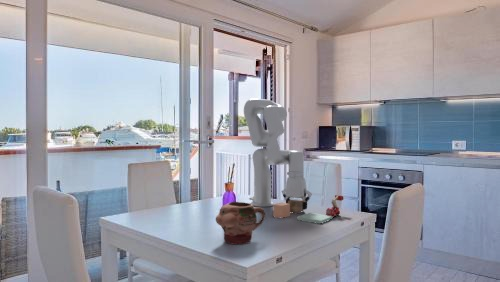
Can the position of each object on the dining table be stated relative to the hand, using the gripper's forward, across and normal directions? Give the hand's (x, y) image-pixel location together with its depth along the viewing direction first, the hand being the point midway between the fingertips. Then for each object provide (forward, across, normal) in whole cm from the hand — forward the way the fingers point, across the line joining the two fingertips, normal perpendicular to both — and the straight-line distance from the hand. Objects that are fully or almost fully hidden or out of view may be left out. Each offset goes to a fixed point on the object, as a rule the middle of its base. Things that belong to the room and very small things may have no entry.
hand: (296, 208), depth 191 cm
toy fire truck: (+2, +19, +4) cm, 20 cm away
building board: (+2, +16, -9) cm, 18 cm away
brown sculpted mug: (+2, +10, -57) cm, 58 cm away
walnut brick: (+2, 0, 0) cm, 2 cm away
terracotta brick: (+2, 0, -13) cm, 13 cm away
